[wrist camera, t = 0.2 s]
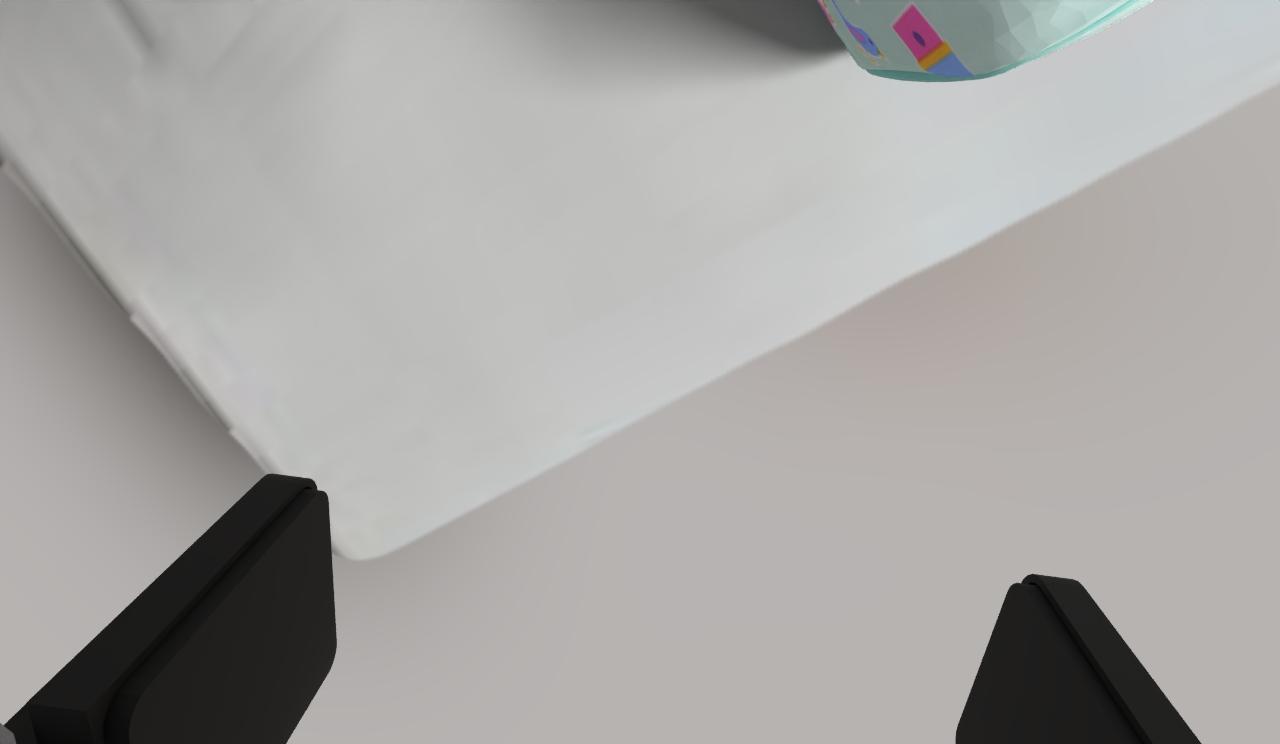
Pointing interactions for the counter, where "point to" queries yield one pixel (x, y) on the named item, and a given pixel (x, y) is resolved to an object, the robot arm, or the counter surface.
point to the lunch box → (964, 33)
